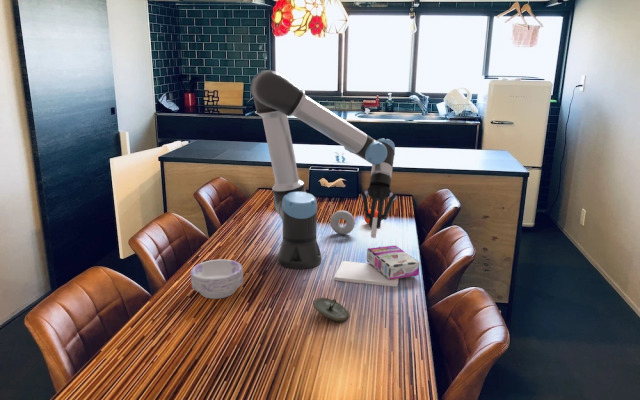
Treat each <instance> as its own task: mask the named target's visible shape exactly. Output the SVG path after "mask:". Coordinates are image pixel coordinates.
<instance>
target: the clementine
mask: <svg viewBox="0 0 640 400" xmlns="http://www.w3.org/2000/svg"><path fill="white" fill-rule="evenodd" d="M368 212H369V214H370V213H371V208H368ZM374 217H376V218H378V209H376V208H375V215H374ZM363 218H364V219H363V220H364V221H365V223H366V224H368V225H369V221H370V219H369V218H366V216H365V213H364V214H363Z"/></svg>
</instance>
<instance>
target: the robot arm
mask: <svg viewBox="0 0 640 400" xmlns="http://www.w3.org/2000/svg"><path fill="white" fill-rule="evenodd" d="M249 88H250V94H251V97H252V98H253V101H254V106H255V111H256V114H257V115H258V116H260V117H261V118H262V123H263V127H264V132H265V137H266V138H265V139H266V143H267V147H268V153H269V157H270V163H271V167H272V168H271V169H272V171H273V177H274V184H273V186H272V188H271V189H272V193H273V206H274V209H275V211H276V213H277V214H278V215H279V217H280V219H281V222H282V241H281V244H280V246H279V250H278V253H277V263H278V264H279V265H280V266H282V267H284V268H288V269H292V270H303V269H304V270H305V269H310V268H314V267H315V268H316V267H317V266H318V265H320V264H321V263H322V252H321V251H320V247H319V244H318V241H317V229H318V228H317V220H318V219H317V215H318V213H317V211H318V203H317V199H316V197H315V196H314V195H313V194H312V193H308V192H306V187H305V181H303V180H302V179H300V177H299V172H298V167H297V162H296V156H295V152H294V146H293V140H292V134H291V129H290V124H289V118H288V117H293V116H294V117H295V118H297V119H298V120H299V121H301V122H303V123H305V124H306V125H308V126H309V127H311V128H313V129H314V130H316V131H318V132H320V133H321V134H322V135H324V136H326V137H328V138H329V139H331V140H333V141H334V142H336V143H338V144H339V145H341V146H342V147H343V148H344V149H345V151H347V152H349V153H351V154H354V155H355V156H358V157H360V158H361V159H363V160H365V161H366V162H367V163H370V164H371V165H372V166H371V171H370V179H369V186H368V188H367V190H365V191H363V190H362V191H360V196H361V199H362V201H363V206H364V207H363V208H364V214H365V216H366V218H369V219H370V221H369V224H368V227H369V229H371V232H370V237H371V238H372V239H376V238H377V233H378V231H377V230H378V229H381V225H382V221H383V220H387V219H388V217H389V215H390V211H391V209H392V206H393V204H394V202H396V200H397V198H398V197H397V193H393V192H392V190H391V185H392V177H393V167H394V159H395V155H396V154H395V149H396V148H395V147H396V146H395V143H394V141H392V140H391V139H389V138H386V139H385V138H383V137H382V138H379V139H377V140H376V139H374V138H373V137H371V136H370V135H368V134H366V132H364V131H362V130H361V129H359V128H357V127H356V126H354V125H353V124H351V123H350V122H348V121H346V119H344V118H342V117H340V116H339V115H337V114H336V113H334V112H332V111H331V110H330V109H328V108H326V107H325V106H323V105H322V104H320V103H319V102H317V101H316V100H314V99H312V98H311V97H309V96H308V95H306V91H305V90H304V89H302V88H300V87H299V86H298V85H297V84H295V83H294V82H293V81H291V79H289V77H287V76H285V75H284V74H283V73H282V72H279V71H276V70H272V69H265V70H261V71H259V72H258V73H256V74H255V75H254V76H253V78H252V80H251V82H250V86H249ZM368 195H369V196H368ZM368 197H370V199H371V206H370V209H371V213H370V214H369V212H368V210H369V206H368V205H369V204H368V199H367V198H368ZM388 197H389V199H388ZM386 199H388V202H387V204H386V207H385V209H383V208H384V204H385V203H384V202H385V201H386ZM377 202H378V209H377V211H378V218H376V217H374V215H375V209H376V205H377ZM383 210H384V211H383Z"/></svg>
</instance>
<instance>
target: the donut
mask: <svg viewBox="0 0 640 400" xmlns="http://www.w3.org/2000/svg"><path fill="white" fill-rule="evenodd" d="M341 219H342V220H344V221H345V222H346V224H345V225H341V224H340V223H339V221H340V220H341ZM329 222H330V223H329V224H330V227H331V228H332V230H333V232H335V233H337V234H339V235H348V234H351V232H352V231H353V230H354V228H355V225H356V222H355V218H354V216H353V214H352V213H350V211H347V210H338V211H335V212H334V213H333V214H332V215H331V217H330V221H329Z"/></svg>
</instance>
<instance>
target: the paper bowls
mask: <svg viewBox="0 0 640 400" xmlns="http://www.w3.org/2000/svg"><path fill="white" fill-rule="evenodd" d="M243 273H244V270H243V265H242V264H241V263H240V262H239V261H236V260H232V259H224V258H223V259H222V258H221V259H211V260H206V261H203V262H200V263H198V264H196V265H194V266H193V267H192V268H191V270H190V283H191V288H192V289H193V290H194V291H196V292H197V293H199V294H200V295H201V296H202V297H204V298H206V299H212V300H218V299H224V298H228V297H230V296H232V295H233V294H234V293H235V292H236V291H237V289H238V288H239V287H241V286H242V284H243V283H244V274H243Z"/></svg>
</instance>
